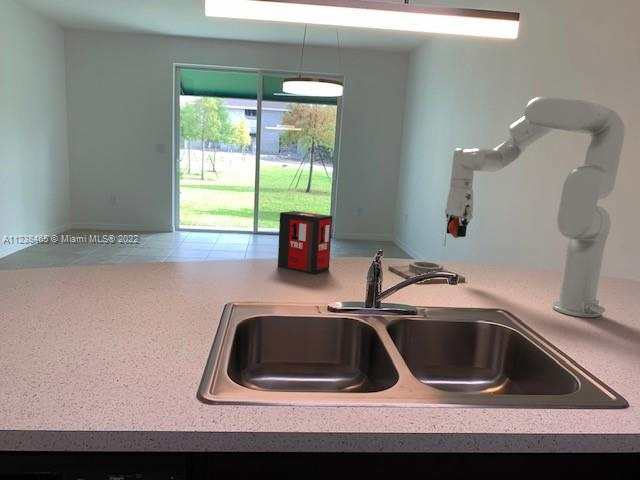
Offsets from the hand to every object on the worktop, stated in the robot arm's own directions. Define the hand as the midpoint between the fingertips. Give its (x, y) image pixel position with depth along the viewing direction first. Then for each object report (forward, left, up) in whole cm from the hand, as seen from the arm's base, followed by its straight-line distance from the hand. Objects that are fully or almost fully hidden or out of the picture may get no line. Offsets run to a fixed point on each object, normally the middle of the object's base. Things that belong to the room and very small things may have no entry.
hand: (455, 234), depth 179 cm
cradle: (+5, +8, -16) cm, 18 cm away
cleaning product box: (+20, +50, -16) cm, 56 cm away
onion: (0, 0, -1) cm, 1 cm away
